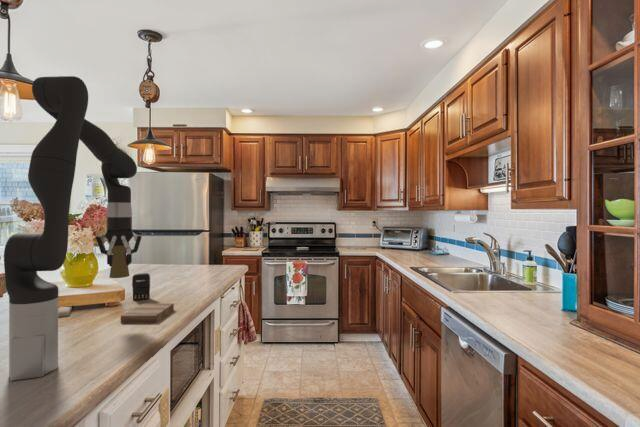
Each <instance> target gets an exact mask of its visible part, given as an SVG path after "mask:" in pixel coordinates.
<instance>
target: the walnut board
mask: <svg viewBox="0 0 640 427" xmlns="http://www.w3.org/2000/svg"><path fill="white" fill-rule="evenodd" d="M174 307H175V305H174V303H141V304H139V305H137V306H136V307H134V308H131V309H130V310H129V311H126V312H124V313H122V314H121V315H120V323H121V324H146V323H147V324H149V323H151V324H152V323H153V324H154V323H155V324H156V323H157V322H159V321H160V320H162V319H163V318H165V317H166V316H168V314H170V313H171V312H172V311H174V309H175V308H174Z"/></svg>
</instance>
